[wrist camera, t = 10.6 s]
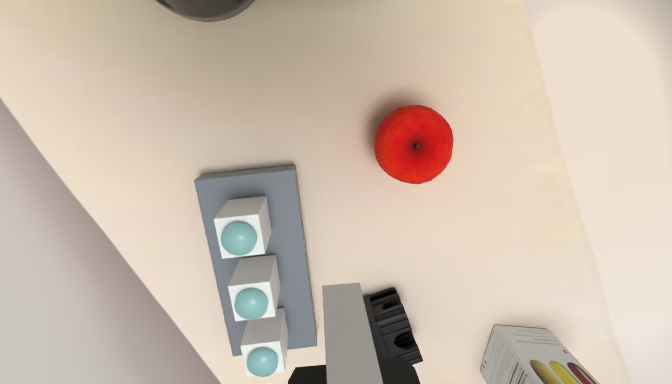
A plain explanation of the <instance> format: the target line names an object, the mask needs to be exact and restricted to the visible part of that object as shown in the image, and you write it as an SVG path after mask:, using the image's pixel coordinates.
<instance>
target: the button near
mask: <svg viewBox="0 0 672 384" xmlns="http://www.w3.org/2000/svg"><path fill="white" fill-rule="evenodd" d="M214 223H215V227H216V232H217V237H218V242H219V246H220V251H221V256H222V259H224V258H233V257H242V256H251V255H260V254H265V252H266V249H267V245H268V242H269V238H270V235H271V231H272V229H271V223H270V216H269V210H268V204H267V198H266V196H259V197H249V198H240V199H230V200H228V201H227V202H226V203H225V205H224V206H223V207H222V209H221V210H220V211H219V213H218V214H217V215H216V217H215V218H214Z"/></svg>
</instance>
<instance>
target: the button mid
mask: <svg viewBox="0 0 672 384" xmlns="http://www.w3.org/2000/svg"><path fill="white" fill-rule="evenodd" d="M228 289H229V294H230V299H231V303H232V308H233V313H234V318H235V321H242V320H255V319H259V318H268V317H276V311H277V305H278V298H279V292H280V279H279V273H278V267H277V260H276V255H269V256H260V257H251V258H242V259H239V261H238V264H237V266H236V269H235V271H234V273H233V276H232V278H231V280H230V283H229V285H228Z"/></svg>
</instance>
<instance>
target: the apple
mask: <svg viewBox="0 0 672 384" xmlns="http://www.w3.org/2000/svg"><path fill="white" fill-rule="evenodd" d="M452 147H453V134H452V130H451V128H450V126H449V124H448V122H447V121H446V120H445V119H444V118H443V117H442V116H441V115H440V114H438V113H437V112H436V111H434V110H433V109H432V108H428V107H425V106H421V105H413V106H406V107H402V108H399V109H397V110H396V111H394V112H393V113H391V114H390V115H389V116H388V117H386V119H385V120H384V121H383V123H382V124H381V125H380V127H379V129H378V131H377V134H376V137H375V146H374V149H375V154H376V159H377V161H378V163H379V165H380V167H381V168H382V169H383V170H384V171H385V172H386V173H387V174H388V175H390V176H391V177H393V178H395V179H397V180H399V181H402V182H406V183H411V184H421V183H424V182H428V181H431V180H432V179H434V178H435V177H436V176H438V175H439V174H440V173H441V172H442V171H443V170H444V169H445V168H446V166H447V164H448V163H449V161H450V159H451V156H452Z"/></svg>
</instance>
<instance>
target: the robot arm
mask: <svg viewBox="0 0 672 384" xmlns="http://www.w3.org/2000/svg"><path fill="white" fill-rule="evenodd" d="M156 1H157V2H158V3H160V4H161V5H162V6H164V7H166V8H167V9H169V10H171V11H173V12H175V13H177V14H178V15H181V16H183V17H186V18H189V19H192V20H197V21H205V22H212V21H220V20H225V19H228V18H230V17H233V16H235V15H237V14H239V13H240V12H242V11H243V10H245V9H246V8H247V7H248V6H249V5H250V4H251V3H252V2H253V1H254V0H156ZM322 287H323V308H324V329H325V350H326V365H317V366H306V367H296V368H295V370H294V372H293V373H292V375H291V377H290V379H289V381H288V384H420V381H419V379H418V376H417V373H416V370H415V368H414V367H413V366H412V365H411V364H410V363H409V362H408V360H407V359H406V358H405V357H396V358H384V359H377V355H376V351H375V347H374V343H373V338H372V334H371V330H370V326H369V321H368V317H367V313H366V309H365V304H364V300H363V296H362V292H361V287H360V283H352V284H339V285H326V286H322Z"/></svg>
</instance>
